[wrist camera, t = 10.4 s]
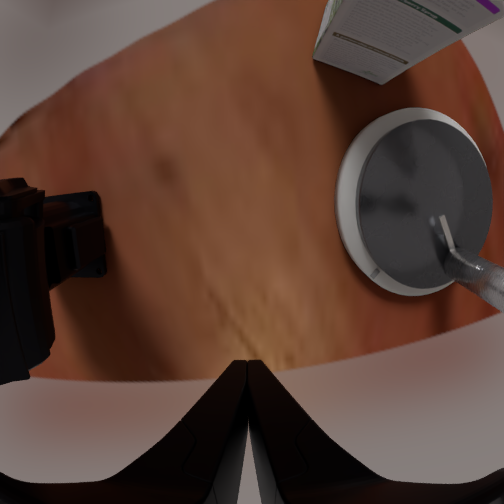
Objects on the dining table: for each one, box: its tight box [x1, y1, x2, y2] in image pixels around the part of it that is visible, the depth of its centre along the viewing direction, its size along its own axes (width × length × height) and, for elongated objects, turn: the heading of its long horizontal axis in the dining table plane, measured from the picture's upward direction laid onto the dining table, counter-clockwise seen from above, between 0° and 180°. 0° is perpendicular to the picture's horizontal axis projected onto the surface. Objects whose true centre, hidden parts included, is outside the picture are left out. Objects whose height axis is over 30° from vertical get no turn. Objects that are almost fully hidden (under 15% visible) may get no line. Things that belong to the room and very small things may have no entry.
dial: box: [355, 119, 504, 313], centre depth 15 cm, size 12×12×9 cm
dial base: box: [334, 108, 486, 296], centre depth 20 cm, size 14×14×2 cm
